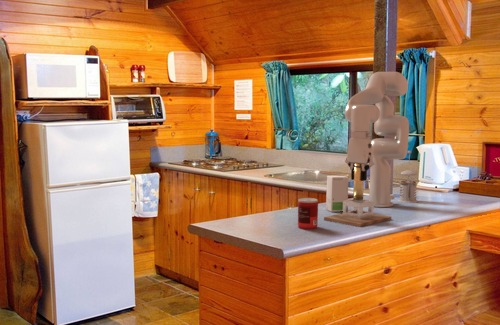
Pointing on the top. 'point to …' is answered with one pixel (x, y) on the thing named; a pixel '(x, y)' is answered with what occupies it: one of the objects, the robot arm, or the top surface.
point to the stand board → (356, 222)
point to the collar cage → (358, 209)
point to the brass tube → (358, 182)
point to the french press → (408, 187)
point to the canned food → (307, 213)
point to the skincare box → (336, 192)
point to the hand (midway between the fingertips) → (358, 179)
